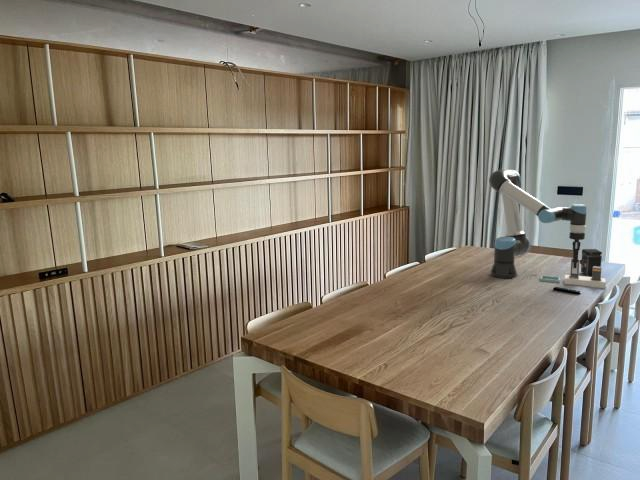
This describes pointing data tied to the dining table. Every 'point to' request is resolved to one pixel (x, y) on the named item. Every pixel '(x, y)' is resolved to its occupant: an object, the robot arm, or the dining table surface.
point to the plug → (577, 270)
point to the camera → (590, 260)
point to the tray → (550, 279)
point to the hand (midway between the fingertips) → (574, 272)
